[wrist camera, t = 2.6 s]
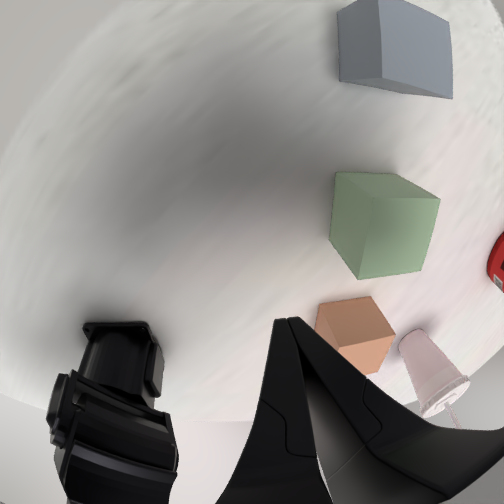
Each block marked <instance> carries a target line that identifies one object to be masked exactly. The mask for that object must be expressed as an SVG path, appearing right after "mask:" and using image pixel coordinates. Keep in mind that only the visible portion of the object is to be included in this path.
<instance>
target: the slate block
mask: <svg viewBox="0 0 504 504" xmlns="http://www.w3.org/2000/svg"><path fill="white" fill-rule="evenodd" d="M337 20H338V40H339V81H341V82H348V83H354V84H360V85H366V86H371V87H376V88H381V89H385V90H390V91H394V92H398V93H402V94H413V95H423V96H432V97H439V98H446V99H453V64H452V47H451V36H450V27H449V22H448V21H446V20H444V19H442V18H440V17H438V16H436V15H434V14H432V13H430V12H428V11H426V10H424V9H422V8H420V7H418V6H416V5H413V4H411V3H409V2H406V1H404V0H357V1H355V2H354V3H352V4H350V5H349V6H347V7H345V8H343V9H342V10H340V11H338V12H337Z"/></svg>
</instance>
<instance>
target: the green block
mask: <svg viewBox="0 0 504 504" xmlns="http://www.w3.org/2000/svg"><path fill="white" fill-rule="evenodd" d="M439 204H440V198H438V197H436V196H435V195H433V194H431V193H429V192H428V191H426V190H424V189H423V188H421V187H419V186H417V185H415V184H414V183H412V182H410V181H408V180H406V179H404V178H403V177H401V176H399V175H397V174H382V173H361V172H336V175H335V187H334V198H333V208H332V217H331V226H330V235H329V241H330V242H331V244H332V245H333V246H334V248H335V249H336V250H337V252H338V253H339V255H340V256H341V257H342V259H343V260H344V261H345V263H346V264H347V266H348V267H349V269H350V270H351V271H352V273H353V274H354V276H355V277H356V279H357V280H362V279H370V278H377V277H384V276H391V275H398V274H405V273H411V272H417V271H421V269H422V266H423V263H424V260H425V257H426V254H427V250H428V247H429V243H430V240H431V236H432V233H433V229H434V225H435V221H436V217H437V213H438V209H439Z"/></svg>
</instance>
